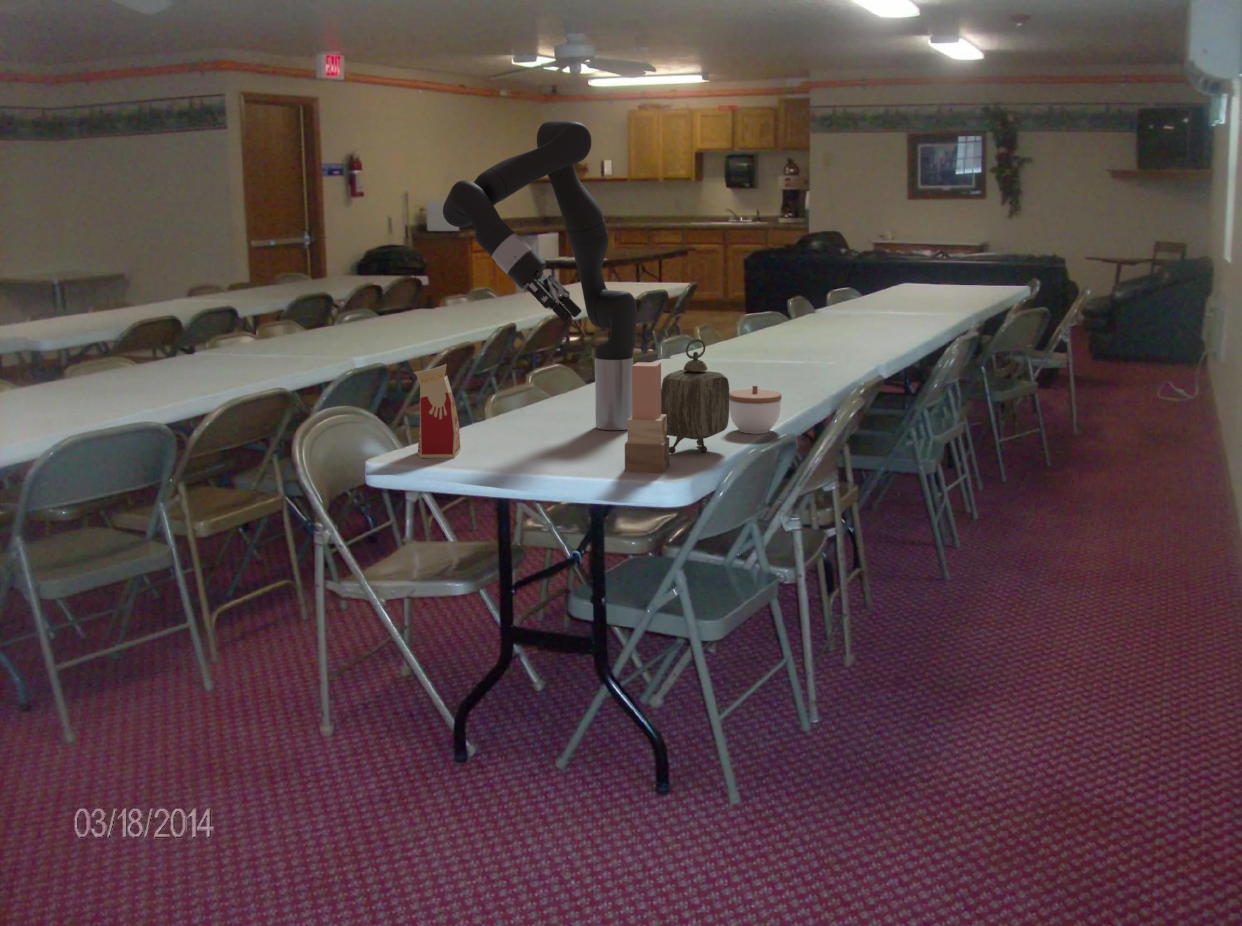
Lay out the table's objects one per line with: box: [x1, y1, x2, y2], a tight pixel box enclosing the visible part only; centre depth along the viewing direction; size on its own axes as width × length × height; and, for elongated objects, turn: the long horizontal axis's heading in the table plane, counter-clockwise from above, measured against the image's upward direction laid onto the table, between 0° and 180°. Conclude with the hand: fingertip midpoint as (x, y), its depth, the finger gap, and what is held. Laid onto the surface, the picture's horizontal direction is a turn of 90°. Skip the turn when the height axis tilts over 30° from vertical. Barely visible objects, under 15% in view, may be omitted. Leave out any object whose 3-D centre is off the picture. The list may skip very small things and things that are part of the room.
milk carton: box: [413, 363, 462, 459], centre depth 265 cm, size 9×9×20 cm
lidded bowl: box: [729, 384, 782, 435], centre depth 288 cm, size 13×13×11 cm
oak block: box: [626, 414, 668, 445], centre depth 250 cm, size 7×7×5 cm
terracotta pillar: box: [632, 361, 662, 420], centre depth 248 cm, size 5×5×11 cm
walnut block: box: [624, 436, 670, 474], centre depth 251 cm, size 8×8×6 cm
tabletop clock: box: [661, 338, 730, 454], centre depth 264 cm, size 14×9×25 cm, turn 141°
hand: (573, 316), depth 250 cm, fingers open, 8 cm apart
